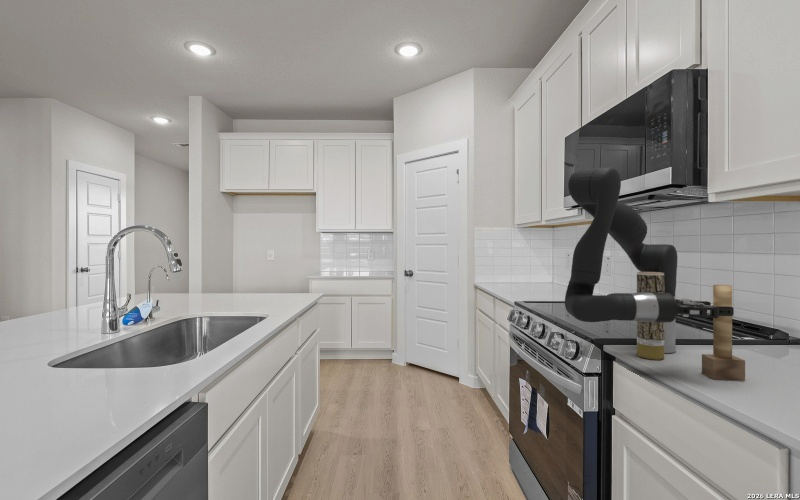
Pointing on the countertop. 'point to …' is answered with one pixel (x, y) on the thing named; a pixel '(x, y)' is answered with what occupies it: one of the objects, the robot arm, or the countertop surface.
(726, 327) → the dowel
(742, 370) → the wooden block
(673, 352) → the robot arm
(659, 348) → the brown bark cylinder
